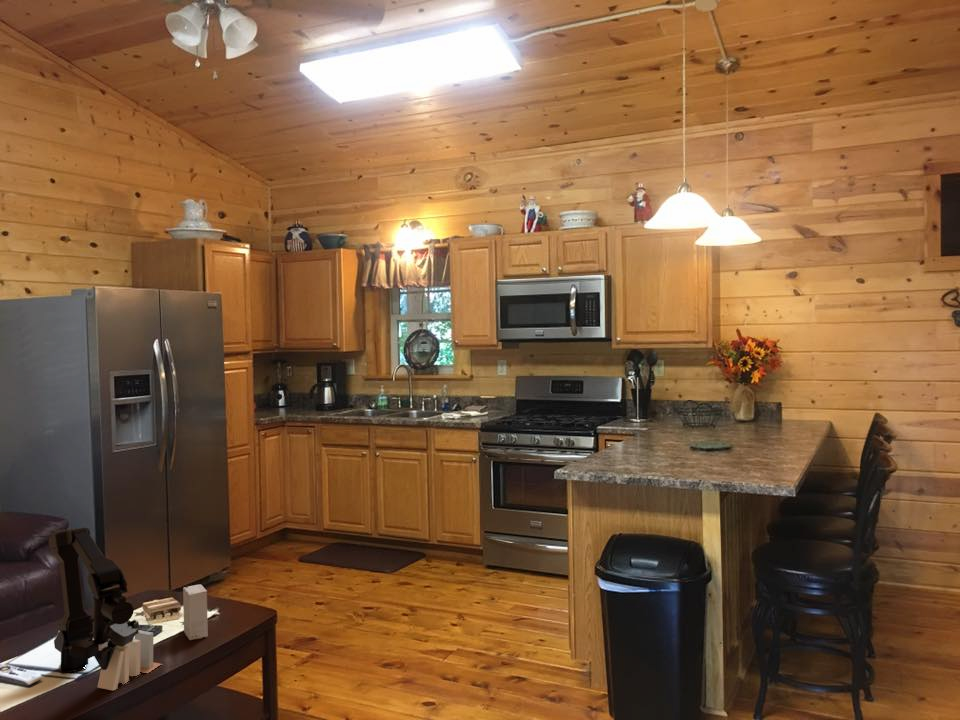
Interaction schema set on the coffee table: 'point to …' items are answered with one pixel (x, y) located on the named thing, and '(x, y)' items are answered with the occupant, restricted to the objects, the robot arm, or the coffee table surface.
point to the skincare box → (195, 612)
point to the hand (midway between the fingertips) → (104, 669)
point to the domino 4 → (145, 648)
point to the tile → (150, 668)
